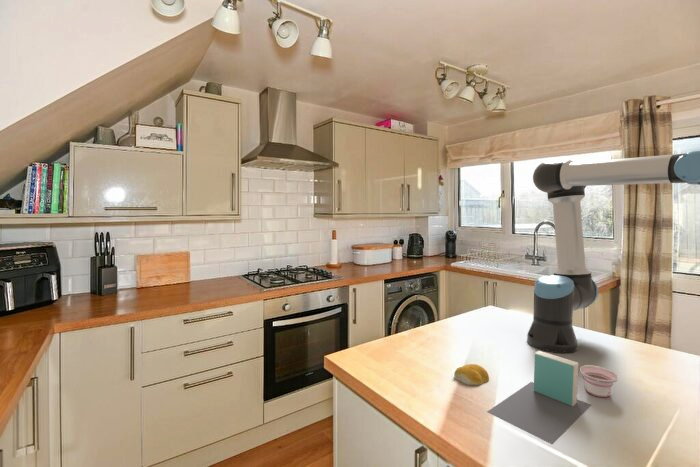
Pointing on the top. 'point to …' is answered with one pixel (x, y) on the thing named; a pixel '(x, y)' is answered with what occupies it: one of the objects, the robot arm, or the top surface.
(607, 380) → the teacup
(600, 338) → the top surface
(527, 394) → the mat
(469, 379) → the bread roll
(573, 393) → the tile
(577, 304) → the robot arm
